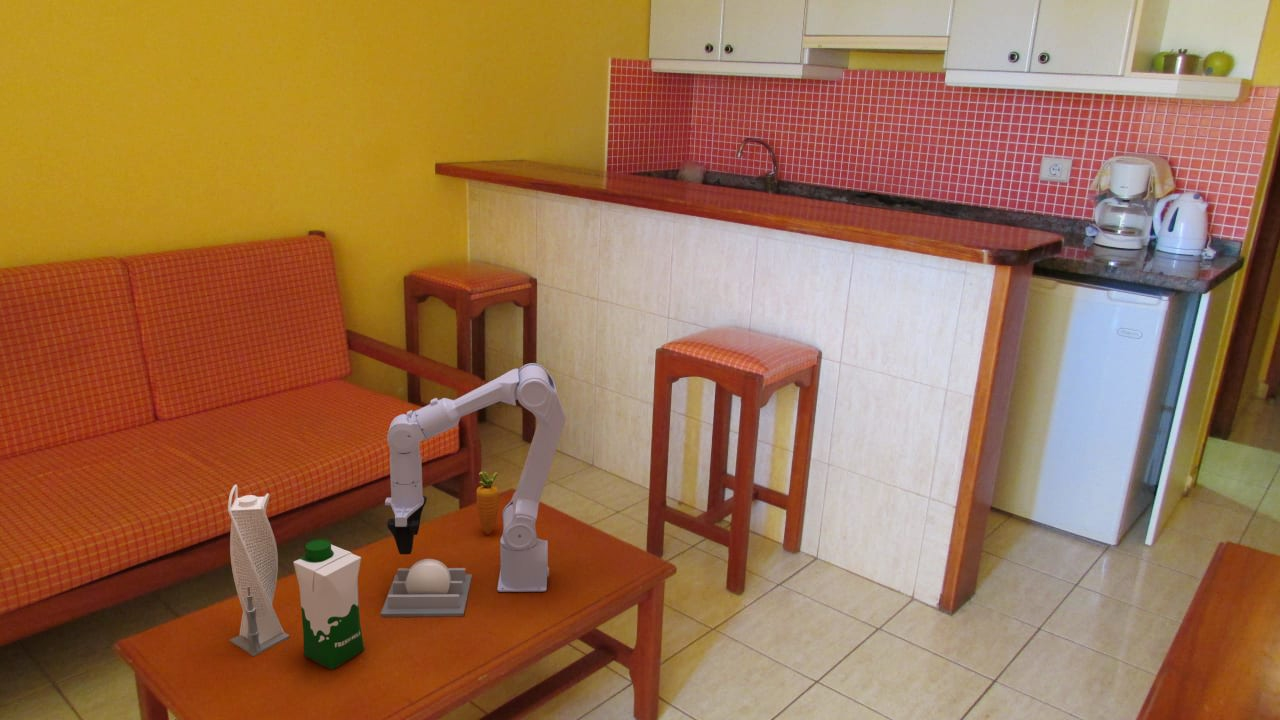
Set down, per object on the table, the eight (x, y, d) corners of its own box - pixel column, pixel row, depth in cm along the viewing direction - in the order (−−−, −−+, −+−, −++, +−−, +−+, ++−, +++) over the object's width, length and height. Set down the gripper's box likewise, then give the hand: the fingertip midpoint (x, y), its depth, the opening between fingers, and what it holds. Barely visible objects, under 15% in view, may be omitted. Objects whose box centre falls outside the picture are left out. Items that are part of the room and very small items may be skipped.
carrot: (502, 529, 198) (501, 467, 194) (496, 540, 193) (495, 476, 189) (480, 528, 198) (479, 465, 194) (473, 538, 194) (472, 474, 189)
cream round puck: (451, 596, 170) (450, 558, 168) (449, 603, 168) (448, 565, 166) (408, 596, 170) (407, 558, 167) (406, 603, 167) (404, 565, 165)
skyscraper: (224, 639, 156) (208, 492, 148) (266, 618, 162) (252, 476, 154) (253, 656, 151) (238, 506, 143) (295, 634, 158) (282, 489, 150)
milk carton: (337, 632, 159) (330, 530, 153) (372, 649, 154) (366, 545, 149) (295, 656, 152) (286, 551, 146) (331, 675, 147) (323, 567, 142)
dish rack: (471, 576, 178) (471, 563, 178) (463, 616, 165) (463, 601, 164) (395, 577, 177) (394, 563, 176) (380, 616, 164) (379, 602, 163)
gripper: (391, 462, 174) (394, 526, 178) (376, 494, 160) (380, 562, 164) (428, 463, 175) (430, 525, 178) (416, 495, 161) (419, 562, 165)
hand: (408, 543), depth 171 cm, fingers open, 7 cm apart
